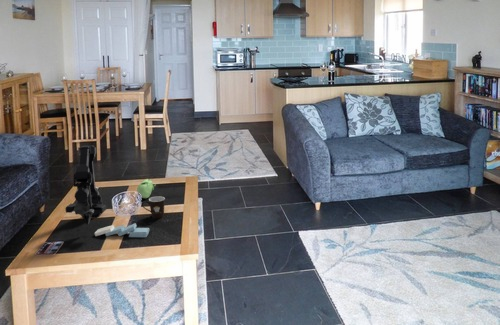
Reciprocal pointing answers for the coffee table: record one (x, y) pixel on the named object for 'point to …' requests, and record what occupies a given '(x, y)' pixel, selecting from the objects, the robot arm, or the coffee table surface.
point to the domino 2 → (116, 230)
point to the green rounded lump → (145, 188)
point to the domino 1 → (104, 230)
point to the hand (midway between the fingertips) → (87, 224)
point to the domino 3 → (128, 229)
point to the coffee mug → (156, 206)
